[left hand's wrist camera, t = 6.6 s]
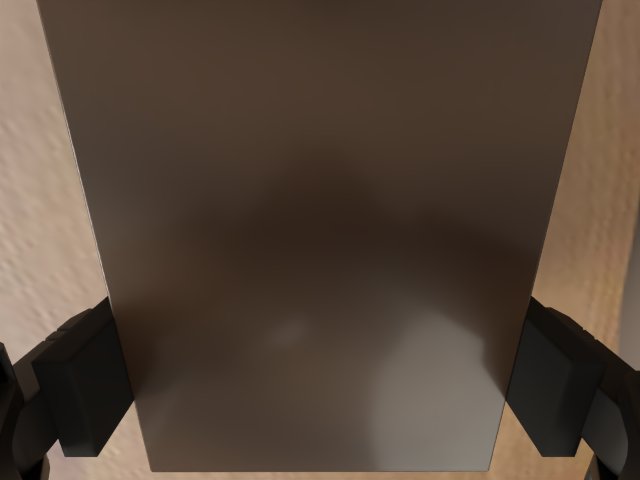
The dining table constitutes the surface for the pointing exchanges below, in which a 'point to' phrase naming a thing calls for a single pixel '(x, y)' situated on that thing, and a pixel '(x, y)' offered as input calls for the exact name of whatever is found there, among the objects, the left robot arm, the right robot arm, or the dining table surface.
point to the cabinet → (319, 216)
